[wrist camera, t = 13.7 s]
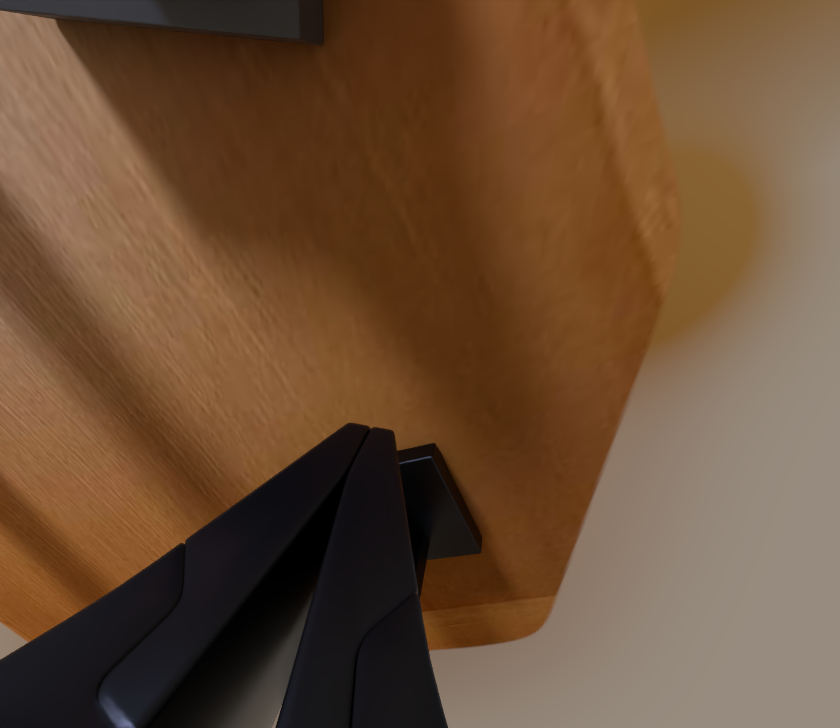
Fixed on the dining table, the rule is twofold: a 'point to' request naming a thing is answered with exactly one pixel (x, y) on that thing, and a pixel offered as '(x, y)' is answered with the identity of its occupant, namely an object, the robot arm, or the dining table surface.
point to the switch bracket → (434, 509)
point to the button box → (192, 16)
